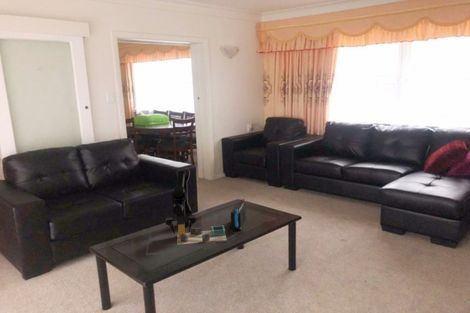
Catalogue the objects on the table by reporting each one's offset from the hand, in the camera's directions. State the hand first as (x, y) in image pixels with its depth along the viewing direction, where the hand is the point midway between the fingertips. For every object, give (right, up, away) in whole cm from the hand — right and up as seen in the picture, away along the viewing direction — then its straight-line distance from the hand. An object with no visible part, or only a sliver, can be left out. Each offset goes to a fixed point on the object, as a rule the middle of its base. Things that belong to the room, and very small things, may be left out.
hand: (181, 232), depth 232 cm
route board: (+13, -3, -1) cm, 13 cm away
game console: (+36, +2, +20) cm, 41 cm away
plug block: (0, -2, 0) cm, 2 cm away
